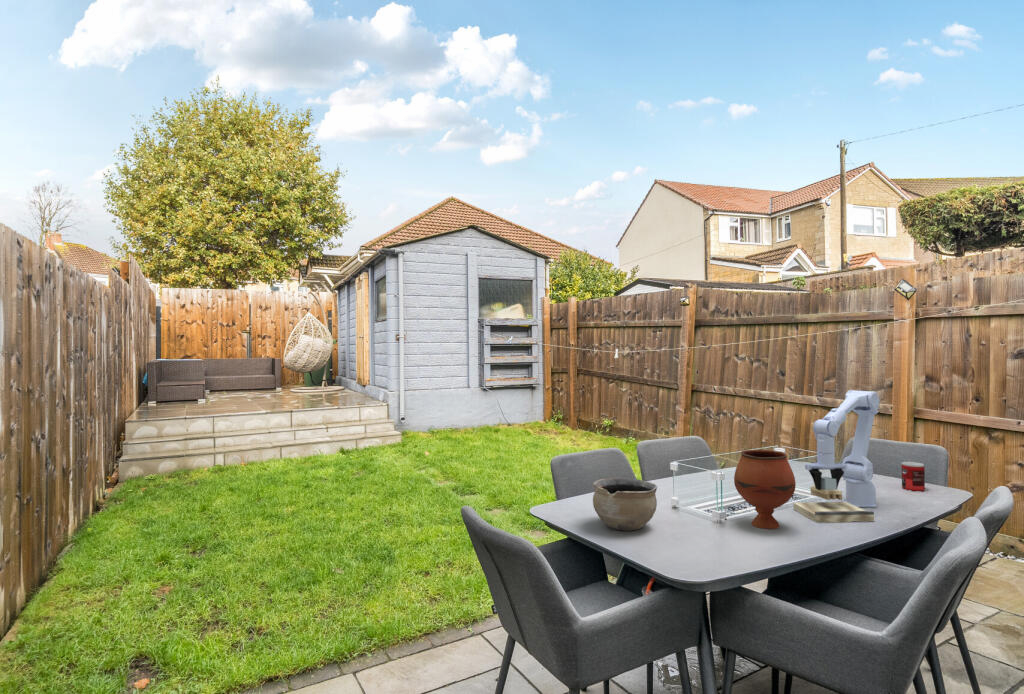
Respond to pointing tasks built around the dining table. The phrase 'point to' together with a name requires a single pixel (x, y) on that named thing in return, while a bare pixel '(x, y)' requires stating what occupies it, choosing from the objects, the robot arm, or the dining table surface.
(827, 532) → the dining table surface
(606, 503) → the ceramic bowl
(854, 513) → the dock
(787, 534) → the dining table surface
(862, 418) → the robot arm
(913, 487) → the canned food
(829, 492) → the pallet
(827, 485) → the pale grey cube
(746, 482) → the goblet
